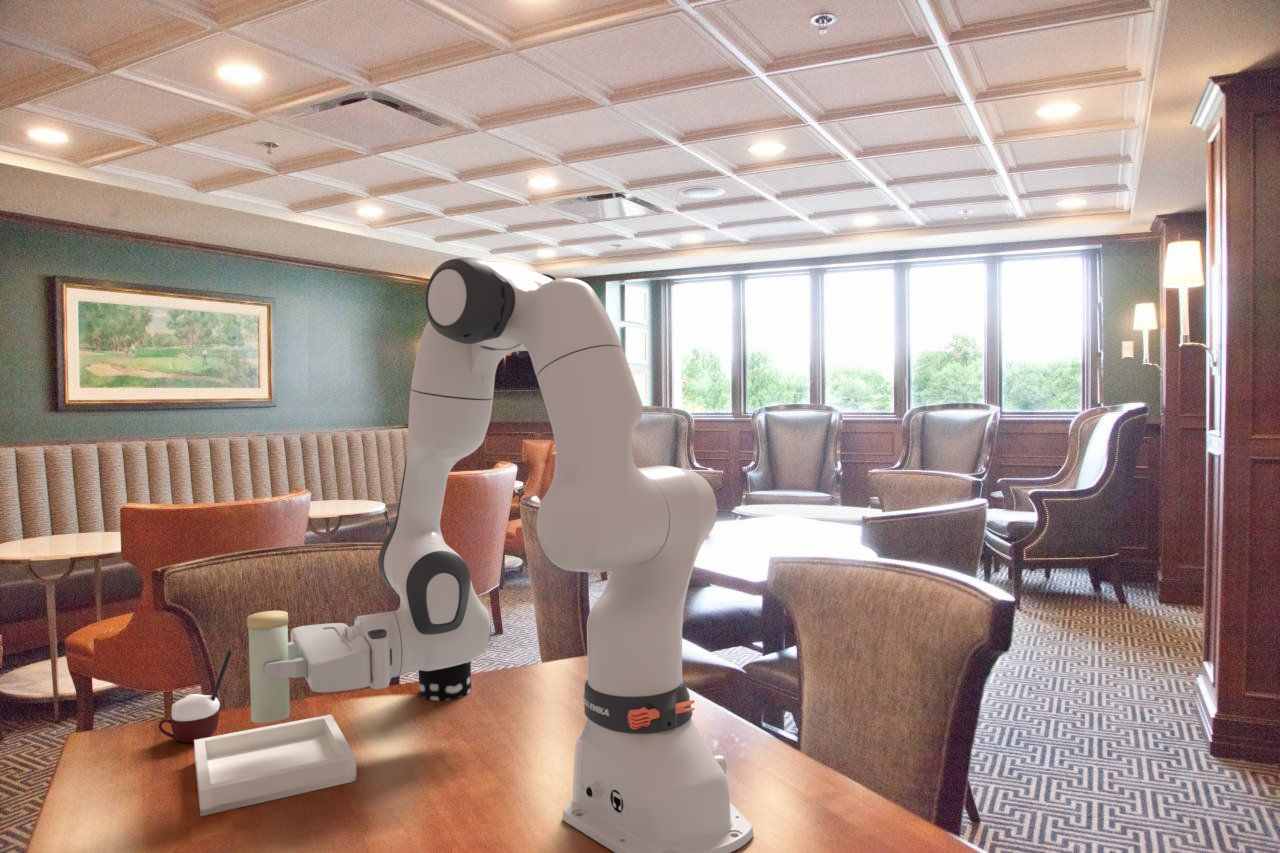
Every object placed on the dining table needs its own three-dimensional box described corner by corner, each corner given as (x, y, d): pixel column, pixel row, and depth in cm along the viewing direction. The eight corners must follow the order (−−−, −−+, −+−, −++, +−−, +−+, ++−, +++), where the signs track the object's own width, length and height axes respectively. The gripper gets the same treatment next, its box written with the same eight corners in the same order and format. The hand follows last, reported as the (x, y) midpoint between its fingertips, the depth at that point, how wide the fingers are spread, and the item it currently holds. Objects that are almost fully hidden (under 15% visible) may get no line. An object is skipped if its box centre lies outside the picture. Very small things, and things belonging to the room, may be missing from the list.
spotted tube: (458, 702, 135) (455, 576, 134) (410, 699, 136) (406, 574, 136) (479, 684, 143) (476, 566, 142) (432, 682, 144) (429, 565, 144)
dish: (356, 780, 107) (355, 757, 107) (200, 816, 98) (199, 790, 98) (331, 735, 122) (331, 714, 122) (194, 762, 113) (194, 739, 113)
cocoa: (155, 750, 119) (146, 666, 118) (178, 731, 125) (169, 651, 124) (224, 745, 119) (216, 661, 118) (243, 726, 125) (236, 646, 124)
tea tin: (293, 718, 109) (290, 616, 109) (252, 726, 107) (248, 622, 106) (288, 707, 113) (285, 608, 113) (248, 714, 111) (245, 613, 110)
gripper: (356, 608, 125) (253, 621, 118) (388, 642, 107) (269, 660, 100) (357, 650, 125) (254, 666, 118) (390, 691, 107) (271, 713, 101)
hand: (261, 663), depth 109 cm, fingers closed on tea tin, 5 cm apart
